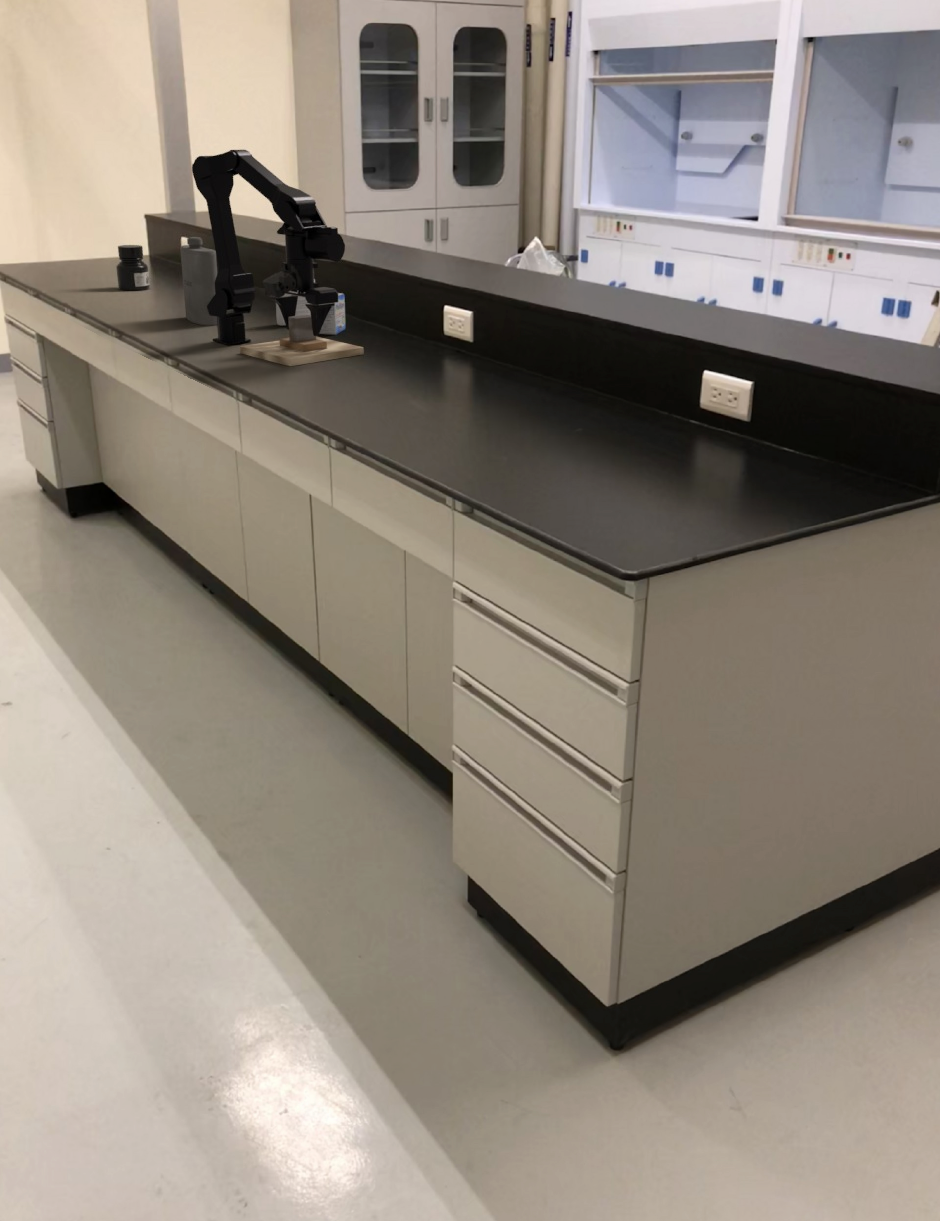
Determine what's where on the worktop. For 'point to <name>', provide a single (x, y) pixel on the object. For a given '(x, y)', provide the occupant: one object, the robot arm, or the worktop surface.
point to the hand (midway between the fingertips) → (302, 332)
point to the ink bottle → (132, 268)
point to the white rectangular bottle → (300, 310)
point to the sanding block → (302, 335)
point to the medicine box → (335, 318)
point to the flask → (198, 280)
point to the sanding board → (300, 352)
